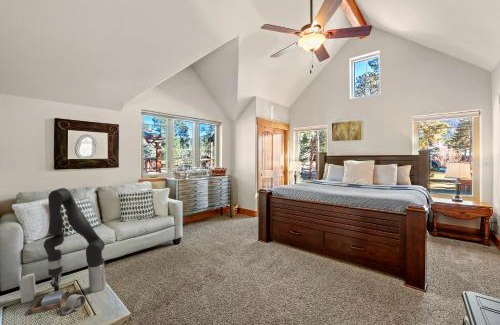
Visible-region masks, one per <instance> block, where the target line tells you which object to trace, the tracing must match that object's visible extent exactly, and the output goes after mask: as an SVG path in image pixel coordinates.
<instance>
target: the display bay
mask: <svg viewBox="0 0 500 325" xmlns="http://www.w3.org/2000/svg"><path fill="white" fill-rule="evenodd" d="M68 293H69V292H68V291H65V292H64V293H63V295H64V296H63V297H62V299H61V301H60V302H59V303H57V304H52V305H47V306H43V307H41V306H38V305H40V303H41V302H42V297H41V296H40V297H38V298H37V299H36V301H35V302H33V304H32V306H31V307H30V308H29V310H28V315H33V314H37V313H42V312H47V311H52V310H55V309H60V308H62V306H63V304H65V302H66V300H67V298H68V297H69V294H68Z"/></svg>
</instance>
